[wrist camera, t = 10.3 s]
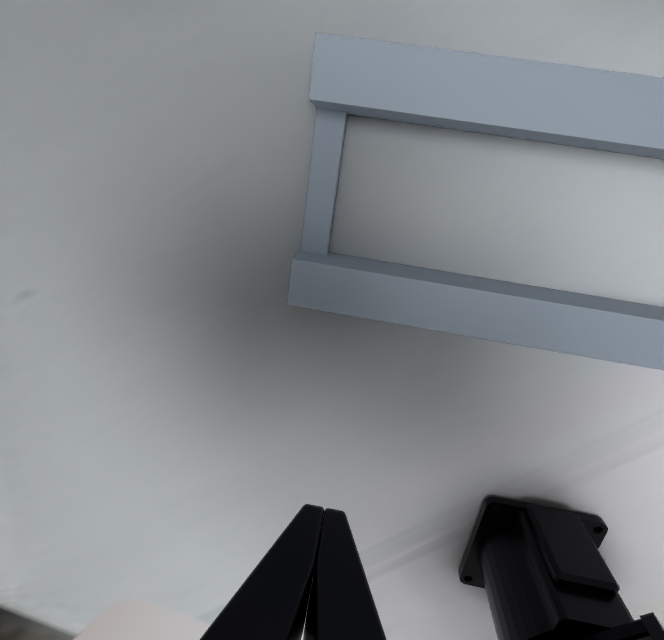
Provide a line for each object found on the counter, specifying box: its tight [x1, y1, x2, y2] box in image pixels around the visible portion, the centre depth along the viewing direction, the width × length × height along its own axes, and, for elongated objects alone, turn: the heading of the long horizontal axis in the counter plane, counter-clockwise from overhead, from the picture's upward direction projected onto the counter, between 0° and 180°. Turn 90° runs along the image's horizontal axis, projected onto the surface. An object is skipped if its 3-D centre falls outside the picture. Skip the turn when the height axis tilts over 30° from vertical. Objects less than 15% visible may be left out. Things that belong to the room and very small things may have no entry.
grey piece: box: [287, 32, 664, 370], centre depth 16 cm, size 10×18×2 cm, turn 82°
